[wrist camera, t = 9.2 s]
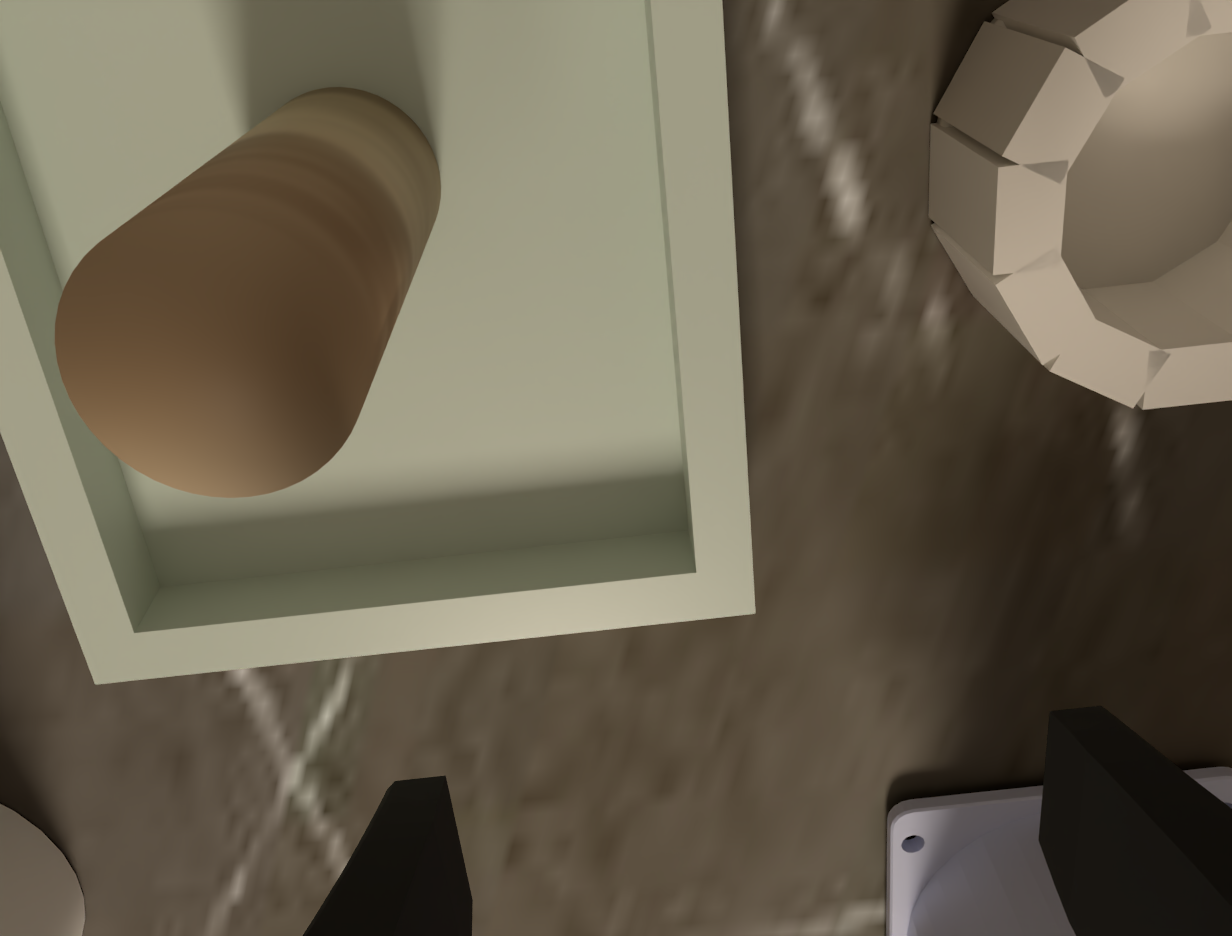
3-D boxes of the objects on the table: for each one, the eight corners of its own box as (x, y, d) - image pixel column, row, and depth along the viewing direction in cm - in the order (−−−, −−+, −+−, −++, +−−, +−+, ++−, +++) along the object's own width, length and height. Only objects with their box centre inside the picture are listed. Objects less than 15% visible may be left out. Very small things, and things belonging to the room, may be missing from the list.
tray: (736, 543, 23) (755, 613, 21) (139, 607, 23) (95, 684, 21) (675, -458, 16) (694, -513, 14) (-190, -359, 16) (-312, -400, 14)
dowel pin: (455, 263, 19) (391, 481, 12) (276, 284, 19) (107, 512, 12) (423, 76, 18) (330, 194, 11) (230, 98, 18) (11, 231, 11)
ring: (1281, 310, 21) (1400, 382, 18) (925, 350, 21) (985, 427, 18) (1348, -83, 18) (1504, -77, 15) (934, -38, 18) (1007, -21, 15)
